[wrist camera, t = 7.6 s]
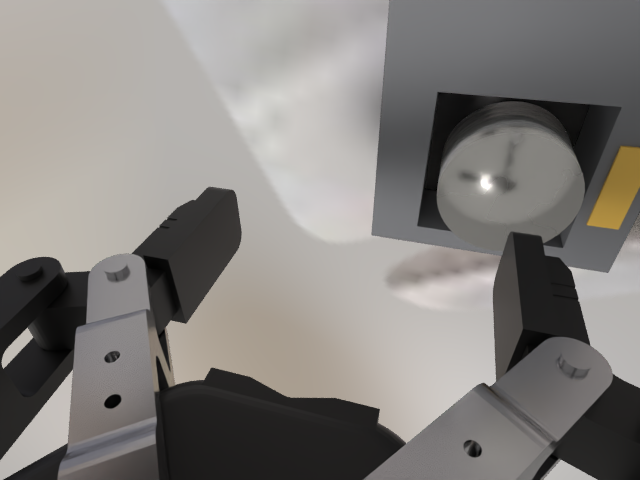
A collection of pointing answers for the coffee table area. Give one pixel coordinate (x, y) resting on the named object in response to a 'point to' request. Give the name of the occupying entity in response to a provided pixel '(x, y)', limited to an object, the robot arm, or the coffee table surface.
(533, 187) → the button
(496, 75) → the panel
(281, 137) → the coffee table surface
